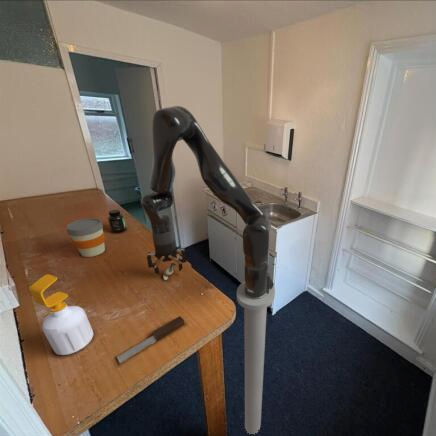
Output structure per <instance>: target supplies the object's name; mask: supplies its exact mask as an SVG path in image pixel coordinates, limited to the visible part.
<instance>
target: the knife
mask: <svg viewBox="0 0 436 436" xmlns="http://www.w3.org/2000/svg"><path fill="white" fill-rule="evenodd" d="M183 326H185V320H184V318H182V316H181V315H179V316H178V317H175V318H174V319H172V320H171V321H169V322H167V323H165V324H163V325H161V326H160V327H158V328H157V329H155V330H153V331H152V335H151V336H150V337H148V338H146V339H145V340H143V341H141V342H139V343H138V344H136V345H135V346H133V347H131V348H129V349H128V350H126V351H124V352H122V353H121V354H119V355H117V356H116V359H117V361H118V363H119V364H122V363H124V362H125V361H127V360H128V359H130V358H132V357H134V356H136V355H137V354H138V353H140V352H142V351H143V350H145V349H147V348H148V347H150V346H152V345H154V344H155V343H157V342H158V341H159V342H160V340H162V339H164V338H165V337H167V336H169V335H170V334H172V333H173V332H175V331H177V330H178V329H180V328H181V327H183Z"/></svg>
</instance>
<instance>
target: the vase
mask: <svg viewBox="0 0 436 436" xmlns="http://www.w3.org/2000/svg"><path fill="white" fill-rule="evenodd" d="M175 267H176V268H177V264H176V263H175V262H171V263H170V266H167V267H165V269H164V272H163V274H162V275H163V276H162V277H163V281H167V280H169V276H172V274H173V273H174V271H175V270H174V268H175Z"/></svg>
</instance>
